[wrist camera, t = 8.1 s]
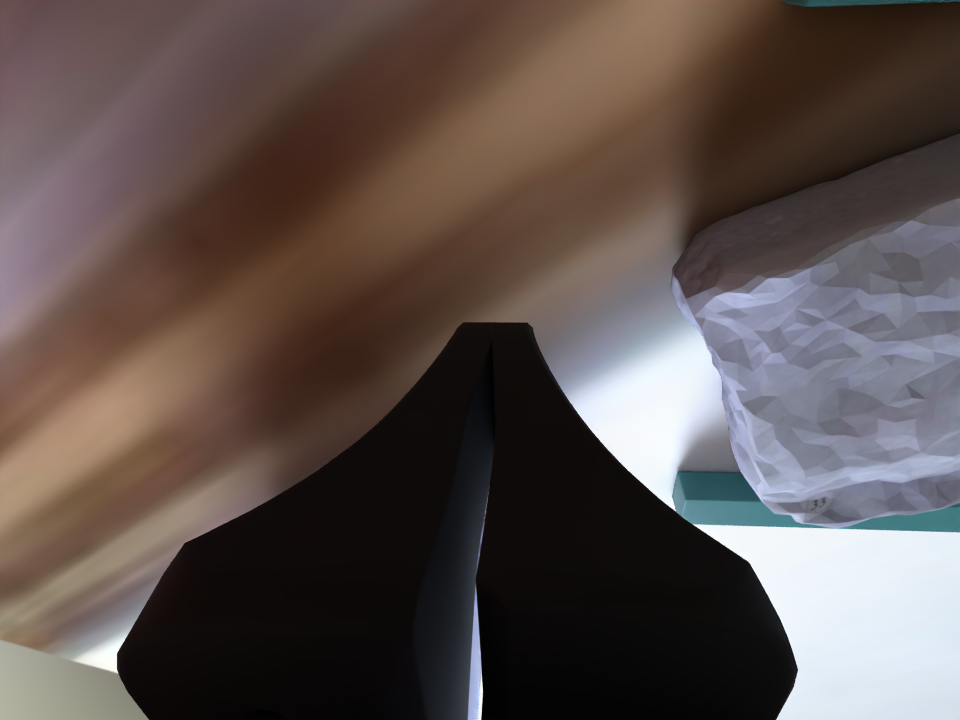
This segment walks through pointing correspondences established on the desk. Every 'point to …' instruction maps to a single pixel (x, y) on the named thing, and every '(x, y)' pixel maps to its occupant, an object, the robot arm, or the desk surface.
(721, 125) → the desk surface
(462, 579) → the robot arm
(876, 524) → the frame
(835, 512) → the stone block
